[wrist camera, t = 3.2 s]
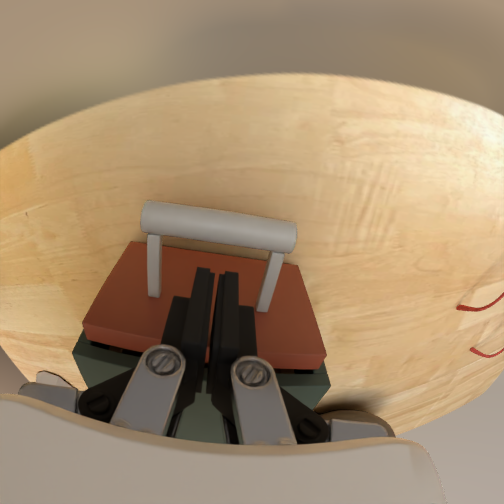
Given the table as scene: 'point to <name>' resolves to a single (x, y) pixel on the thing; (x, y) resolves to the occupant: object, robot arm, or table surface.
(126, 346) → the drawer
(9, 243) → the table surface
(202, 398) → the cabinet
